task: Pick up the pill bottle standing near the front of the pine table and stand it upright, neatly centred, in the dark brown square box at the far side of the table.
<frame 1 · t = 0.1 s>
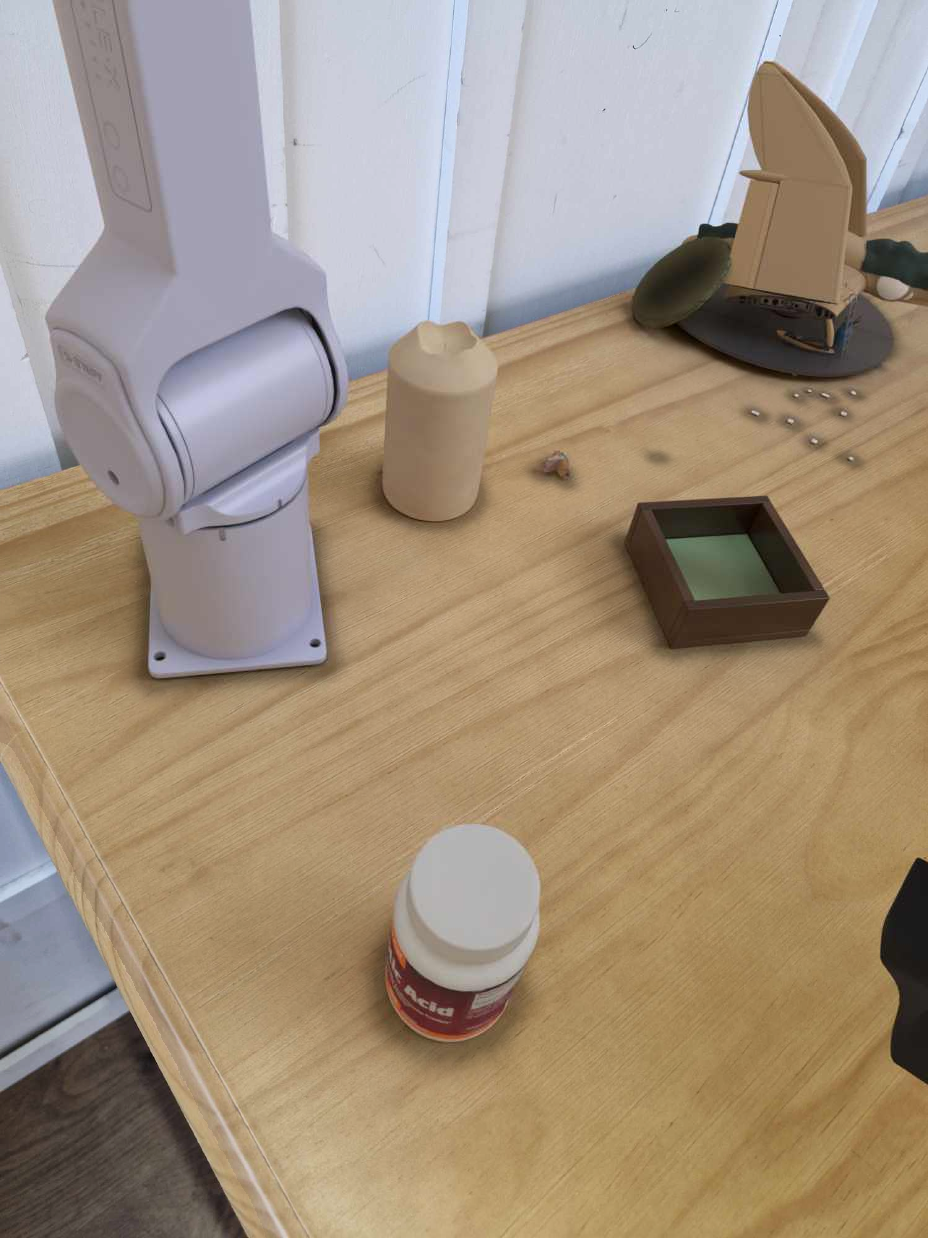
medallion: (677, 276, 63), point 3 cm above the table, touching toy
candle: (429, 492, 51), on the table
pill bottle: (448, 979, 33), on the table
crumbs: (818, 406, 60), on the table
figurine: (600, 465, 54), on the table
dark brown square box: (712, 587, 48), on the table
toy: (779, 314, 68), on the table, touching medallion
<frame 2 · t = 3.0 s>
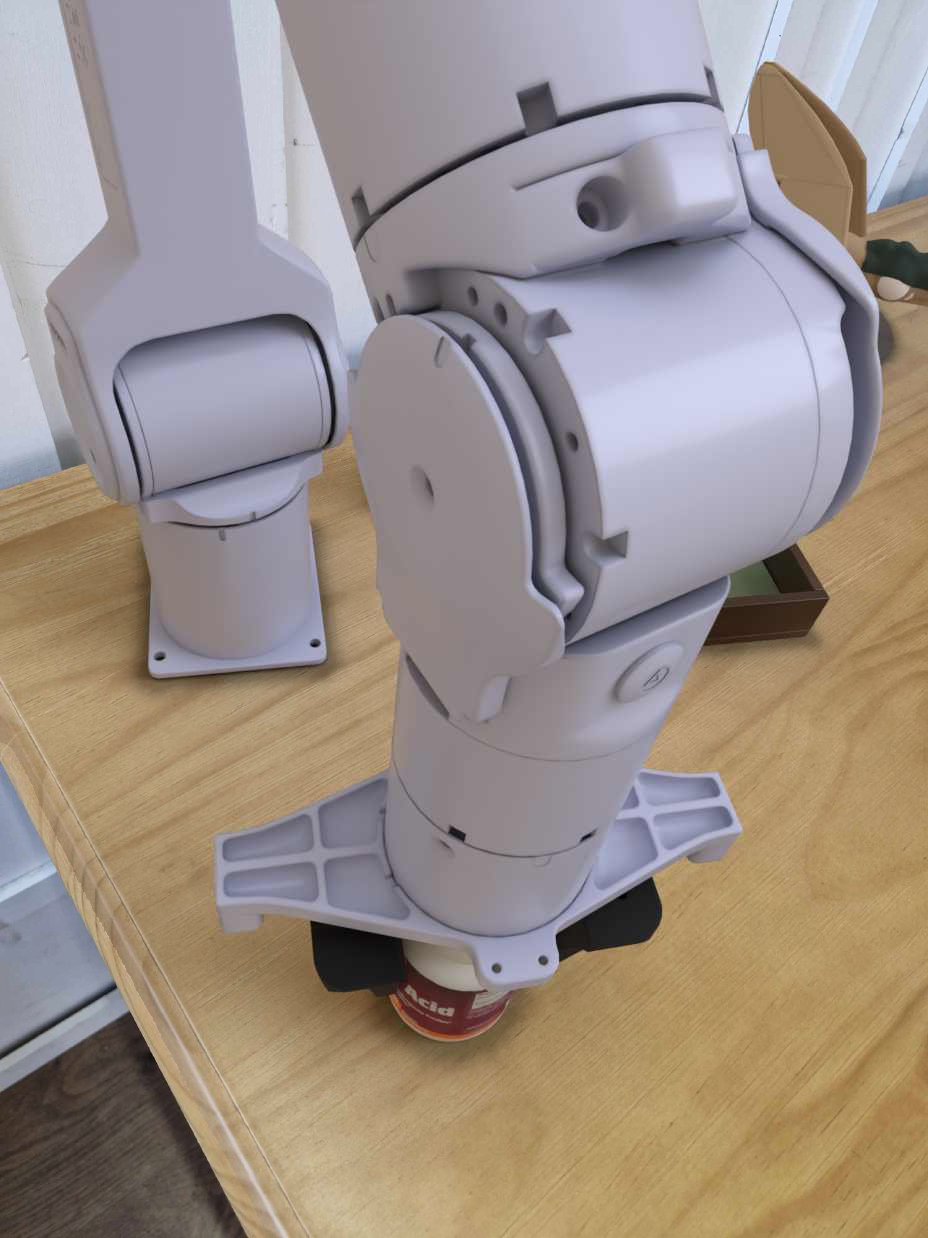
hand: (455, 954, 31), 2 cm above the table, tool pointing down, fingers closed on pill bottle, 5 cm apart
pill bottle: (448, 979, 33), on the table, touching gripper
everything else where it was.
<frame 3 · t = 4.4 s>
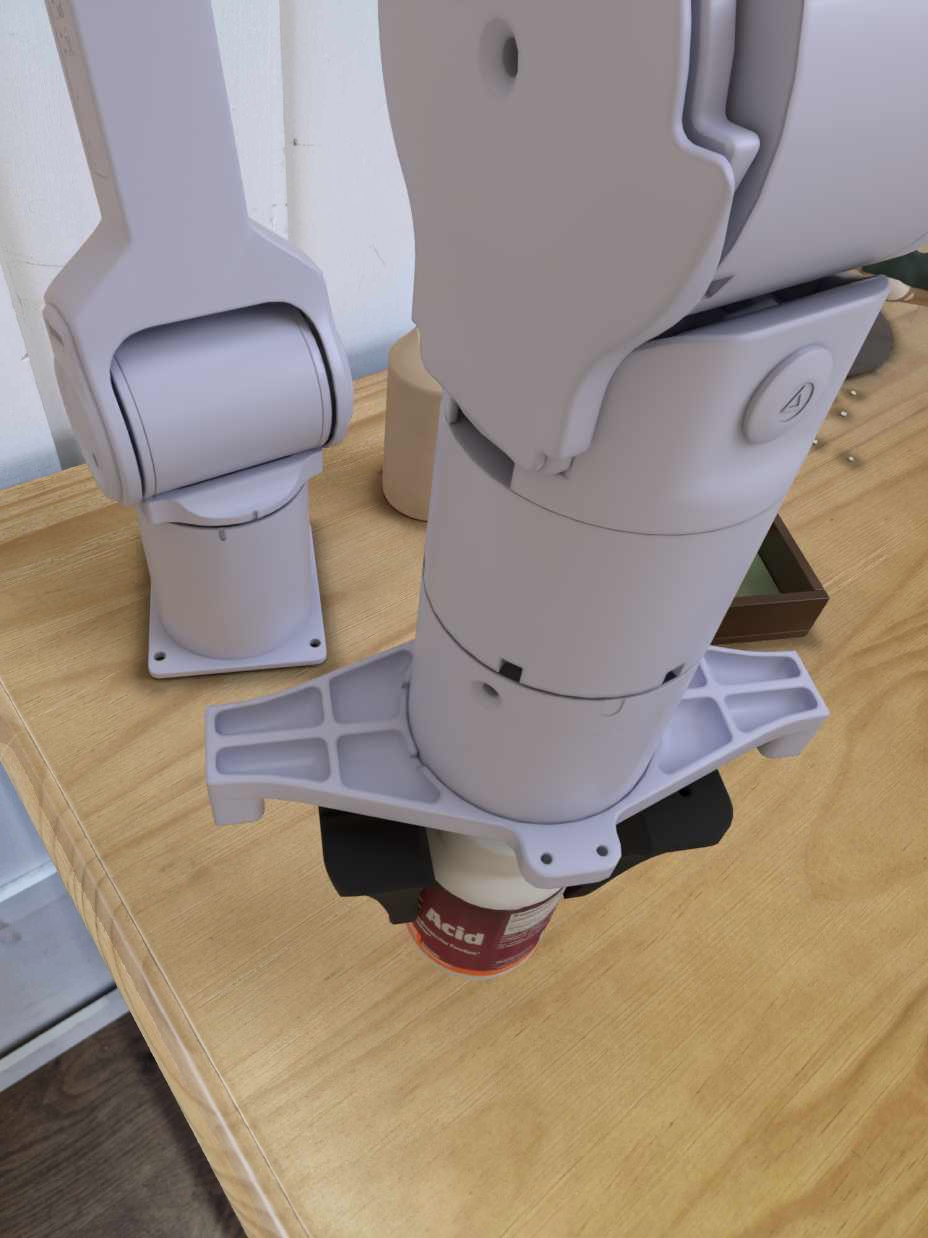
hand: (481, 879, 27), 8 cm above the table, tool pointing down, fingers closed on pill bottle, 5 cm apart
pill bottle: (472, 913, 29), point 5 cm above the table, touching gripper
everything else where it was.
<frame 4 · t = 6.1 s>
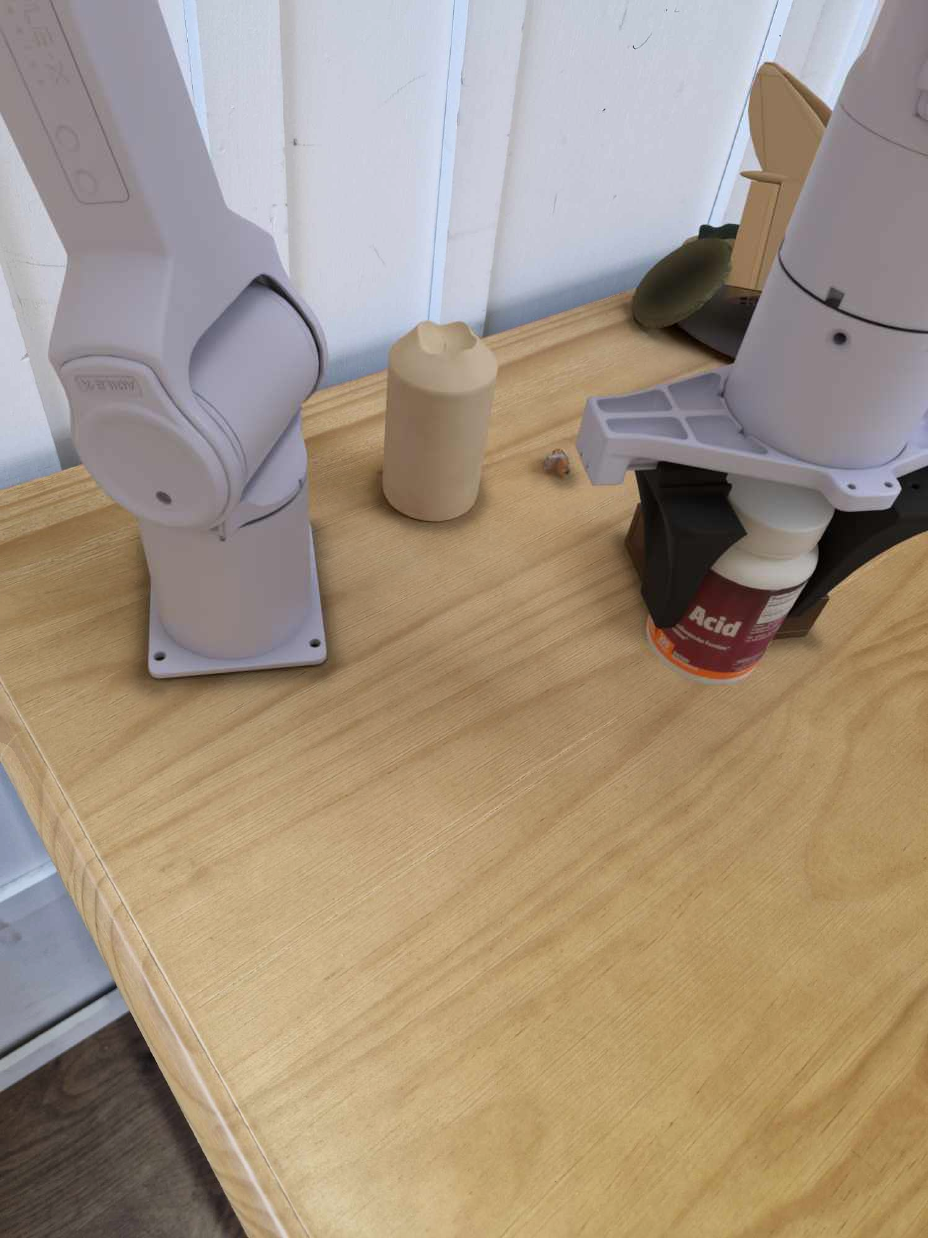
hand: (719, 604, 34), 9 cm above the table, tool pointing down, fingers closed on pill bottle, 5 cm apart
pill bottle: (699, 646, 36), point 6 cm above the table, touching gripper
everything else where it was.
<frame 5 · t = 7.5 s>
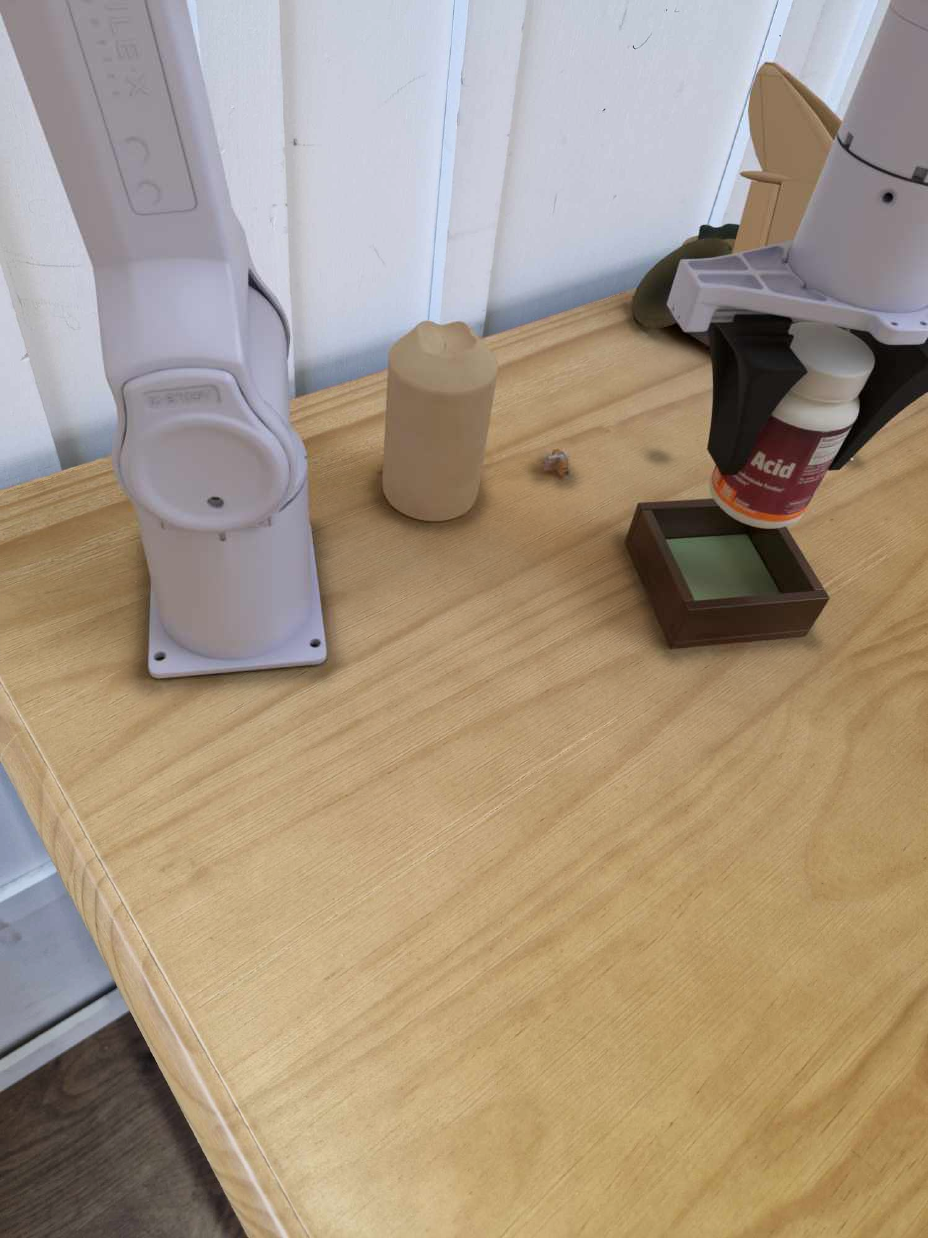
hand: (772, 459, 41), 9 cm above the table, tool pointing down, fingers closed on pill bottle, 5 cm apart
pill bottle: (753, 501, 43), point 6 cm above the table, touching gripper
everything else where it was.
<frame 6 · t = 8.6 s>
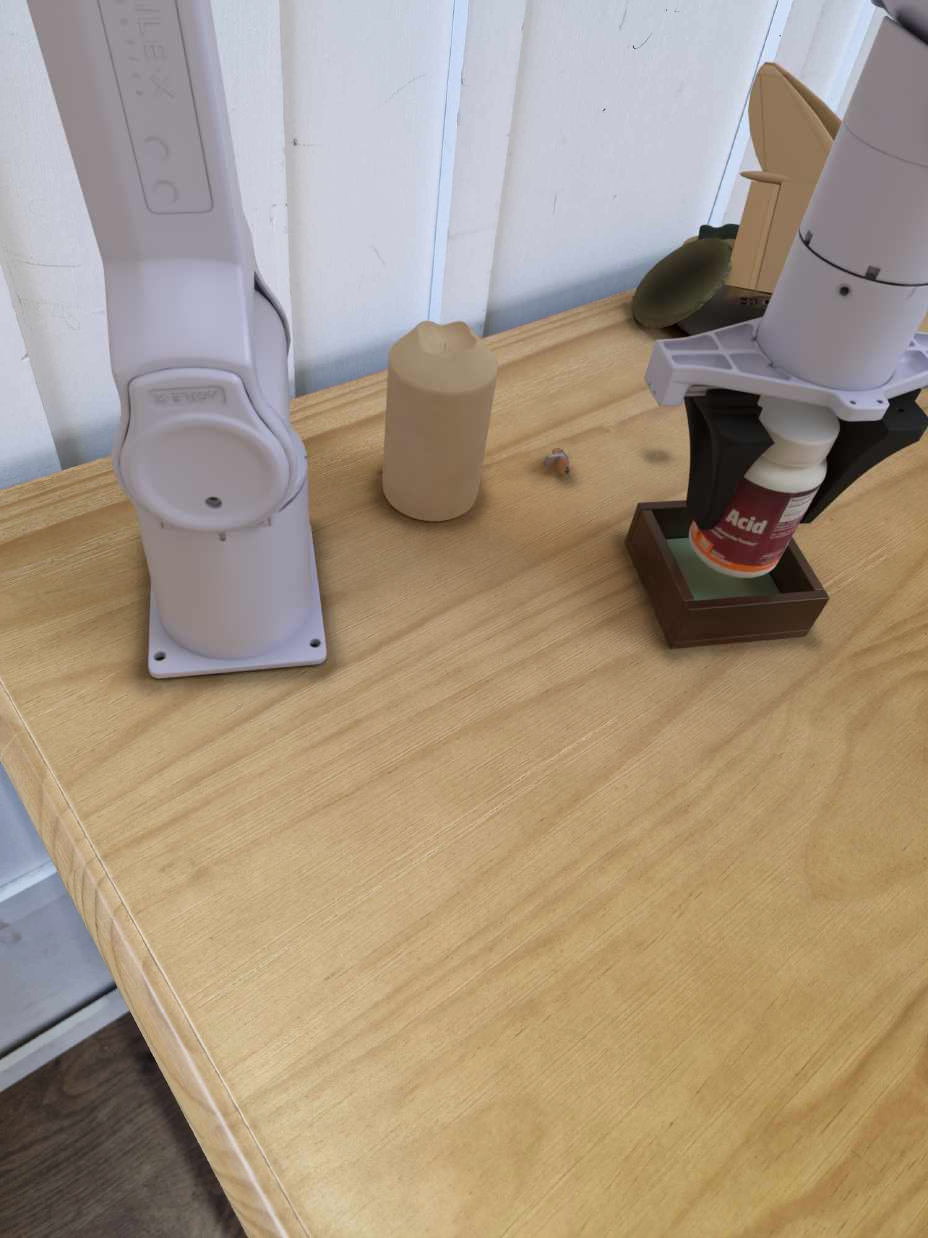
hand: (747, 513, 44), 5 cm above the table, tool pointing down, fingers closed on pill bottle, 5 cm apart
pill bottle: (730, 550, 46), point 3 cm above the table, touching gripper
everything else where it was.
when the fingers open (3 cm above the table, at t = 9.8 s): pill bottle stays where it is, resting on dark brown square box.
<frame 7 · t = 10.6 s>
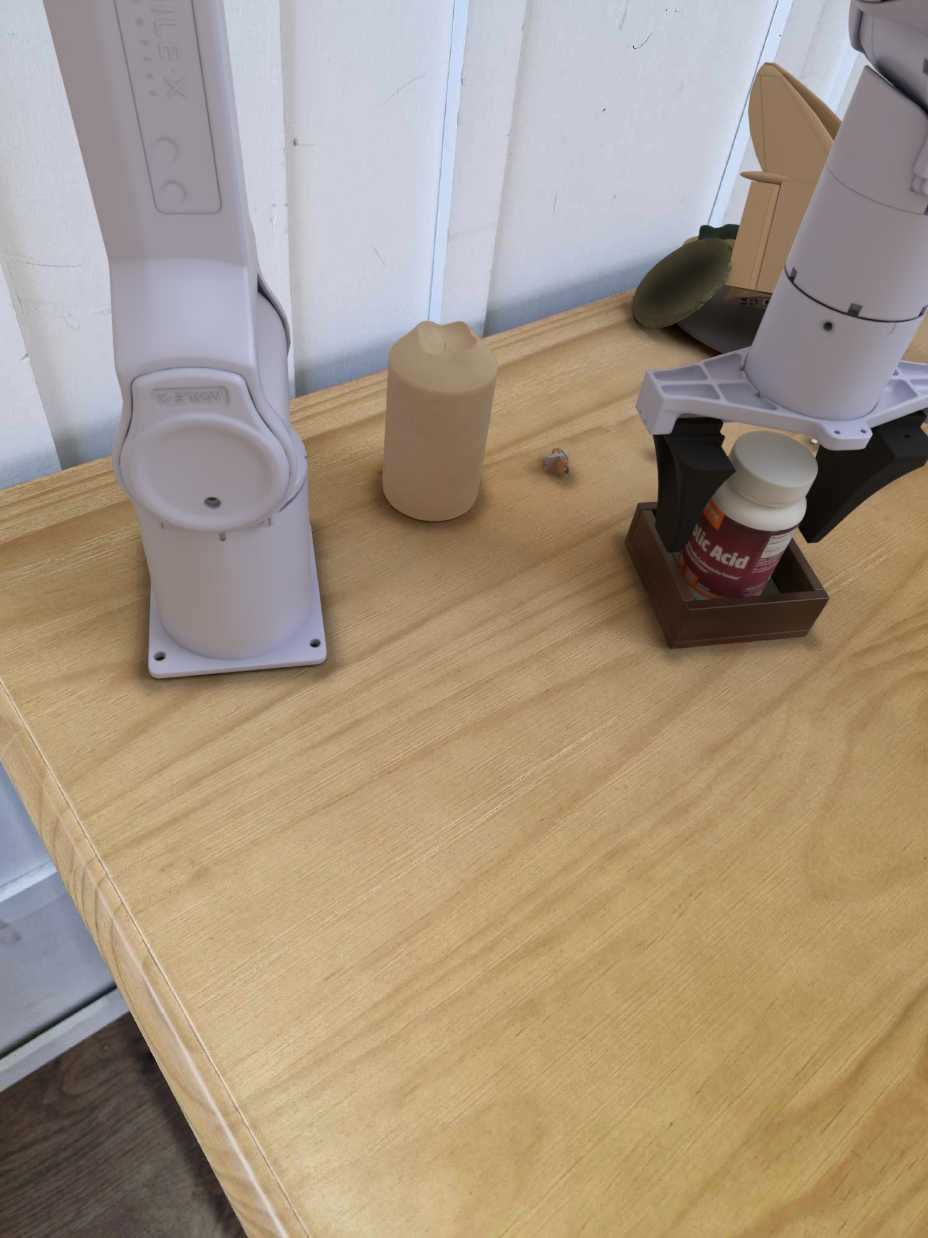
hand: (737, 534, 45), 4 cm above the table, tool pointing down, fingers open, 7 cm apart
pill bottle: (716, 582, 47), point 1 cm above the table, touching dark brown square box
everything else where it was.
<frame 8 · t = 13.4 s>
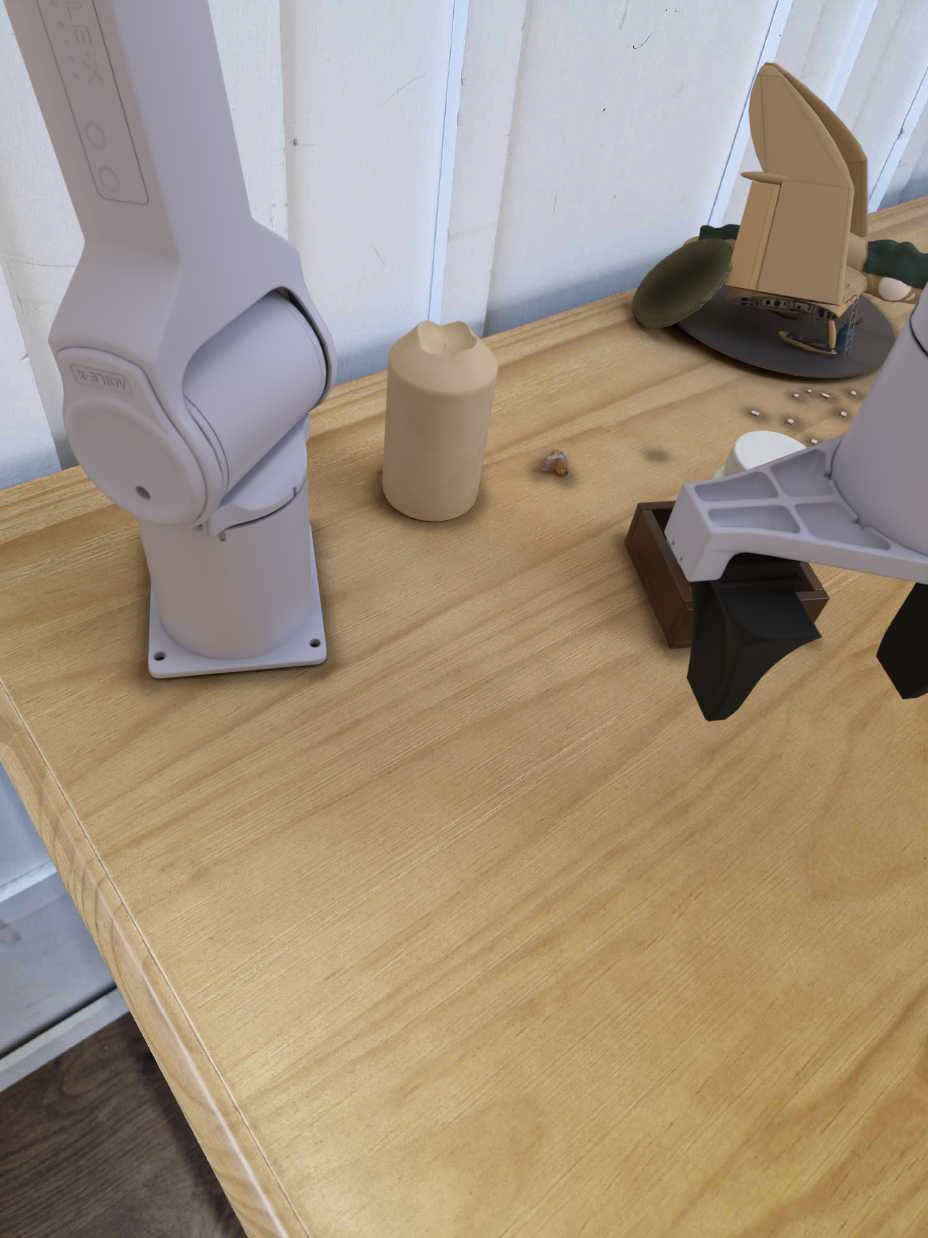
hand: (803, 686, 32), 9 cm above the table, tool pointing down, fingers open, 7 cm apart
nothing on the table moved.
at the end: pill bottle 0.1 cm off-centre in the dark brown square box, point 0.5 cm above the dark brown square box's base; pill bottle tilted 0°; the gripper is holding nothing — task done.
